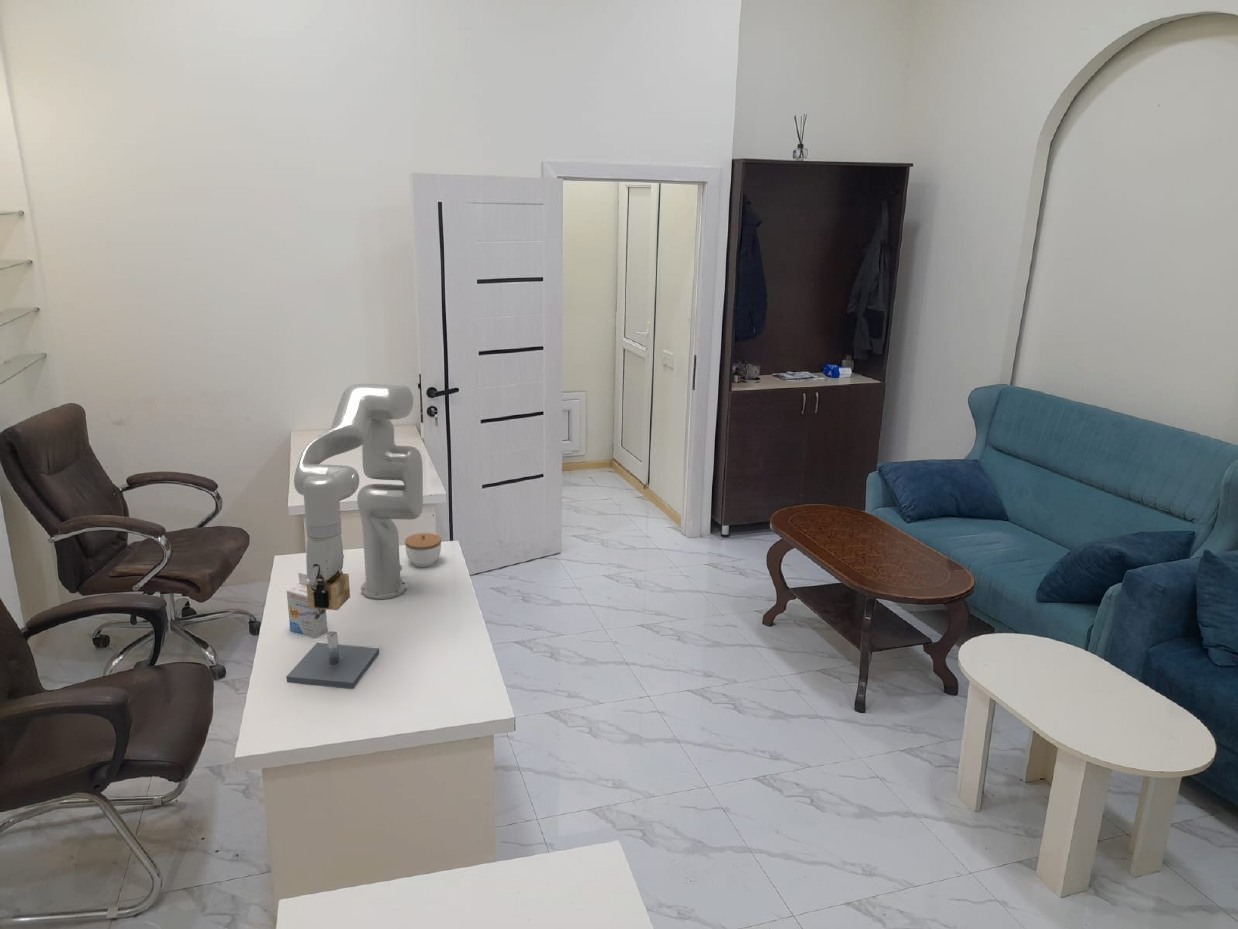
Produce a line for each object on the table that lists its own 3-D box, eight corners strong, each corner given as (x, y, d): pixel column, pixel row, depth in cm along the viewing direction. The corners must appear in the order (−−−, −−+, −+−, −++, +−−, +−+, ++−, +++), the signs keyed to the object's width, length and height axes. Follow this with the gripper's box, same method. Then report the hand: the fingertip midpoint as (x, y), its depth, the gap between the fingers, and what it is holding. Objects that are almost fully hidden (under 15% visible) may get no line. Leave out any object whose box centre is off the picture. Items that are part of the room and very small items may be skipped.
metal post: (331, 658, 213) (329, 631, 211) (341, 659, 213) (339, 631, 210) (327, 664, 211) (324, 635, 208) (336, 665, 211) (334, 636, 208)
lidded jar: (406, 571, 265) (404, 542, 262) (405, 557, 275) (404, 529, 272) (442, 569, 267) (441, 540, 264) (441, 554, 277) (440, 527, 274)
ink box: (289, 631, 228) (284, 579, 224) (302, 623, 233) (298, 571, 228) (315, 638, 225) (310, 585, 221) (328, 630, 230) (324, 578, 225)
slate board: (317, 648, 221) (317, 642, 220) (379, 653, 219) (379, 648, 218) (286, 682, 206) (286, 676, 205) (353, 688, 204) (352, 682, 203)
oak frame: (321, 594, 211) (320, 571, 209) (350, 597, 210) (348, 573, 208) (308, 607, 204) (306, 584, 202) (337, 610, 203) (335, 586, 201)
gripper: (324, 514, 210) (329, 582, 215) (290, 541, 193) (296, 615, 199) (355, 516, 209) (359, 585, 214) (323, 544, 193) (328, 618, 198)
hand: (329, 599), depth 207 cm, fingers closed on oak frame, 7 cm apart
